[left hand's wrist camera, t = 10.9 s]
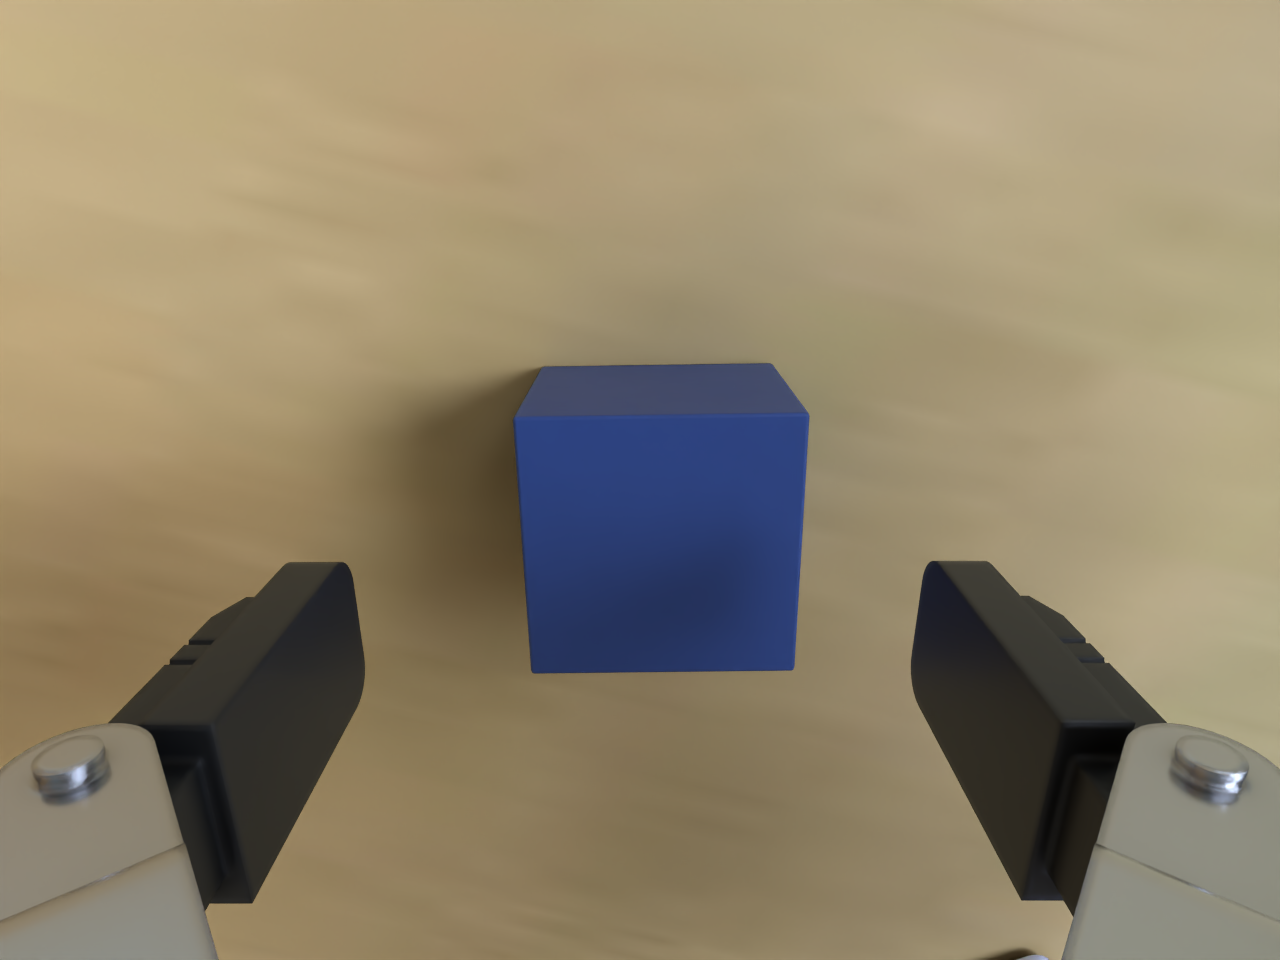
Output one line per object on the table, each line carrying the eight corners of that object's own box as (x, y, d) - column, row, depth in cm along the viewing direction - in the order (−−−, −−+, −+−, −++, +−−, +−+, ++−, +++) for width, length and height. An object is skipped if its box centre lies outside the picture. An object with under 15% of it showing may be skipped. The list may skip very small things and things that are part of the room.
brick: (541, 366, 17) (512, 417, 13) (772, 362, 17) (810, 412, 13) (553, 575, 19) (531, 674, 15) (763, 573, 19) (795, 671, 15)
